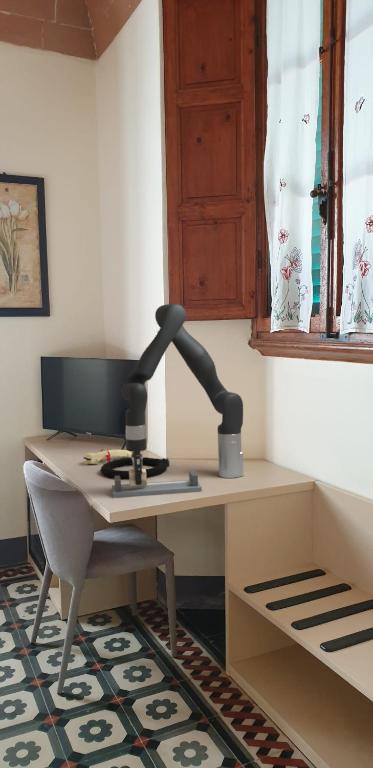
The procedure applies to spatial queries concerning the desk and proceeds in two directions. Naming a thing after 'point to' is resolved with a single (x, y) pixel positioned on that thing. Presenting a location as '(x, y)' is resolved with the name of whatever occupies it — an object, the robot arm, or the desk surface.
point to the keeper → (132, 477)
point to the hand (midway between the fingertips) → (138, 482)
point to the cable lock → (106, 469)
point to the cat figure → (105, 455)
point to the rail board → (157, 487)
